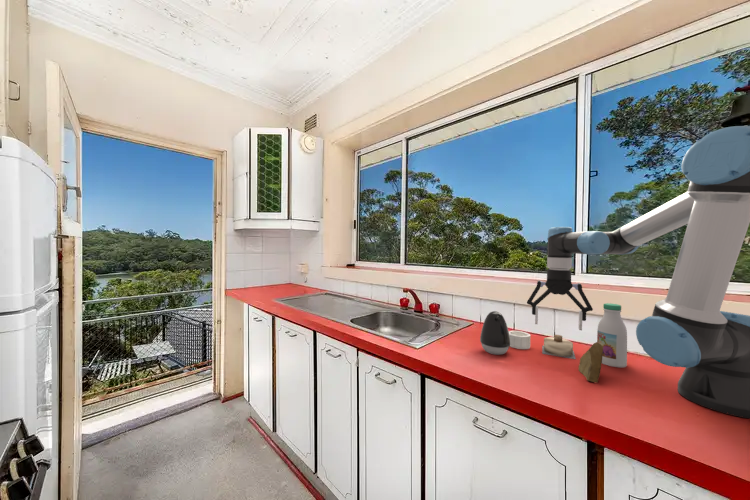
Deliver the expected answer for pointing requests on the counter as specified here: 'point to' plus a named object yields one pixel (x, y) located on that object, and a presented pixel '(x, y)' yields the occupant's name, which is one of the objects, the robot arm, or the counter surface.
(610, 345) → the milk bottle
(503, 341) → the black egg-shaped device
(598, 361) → the rock
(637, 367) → the counter surface
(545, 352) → the mat
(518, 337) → the bowl
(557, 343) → the lid
